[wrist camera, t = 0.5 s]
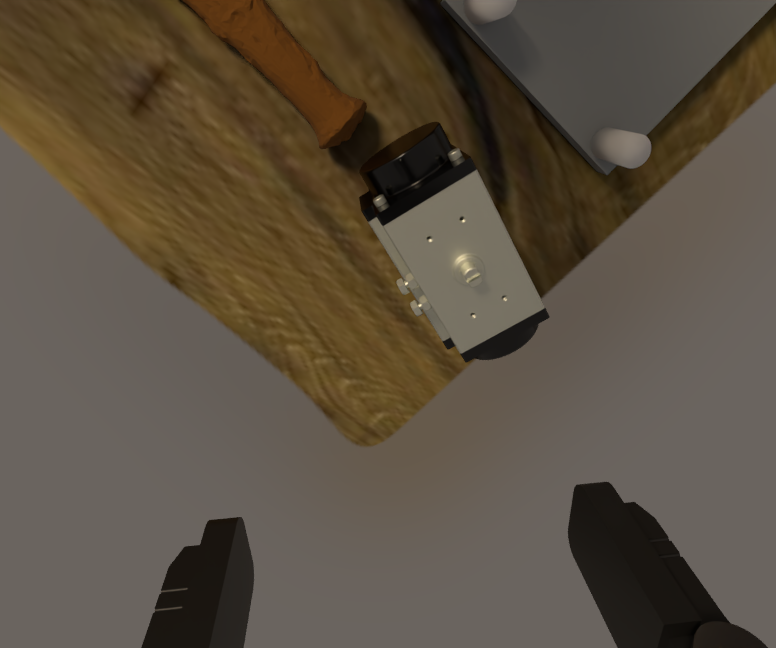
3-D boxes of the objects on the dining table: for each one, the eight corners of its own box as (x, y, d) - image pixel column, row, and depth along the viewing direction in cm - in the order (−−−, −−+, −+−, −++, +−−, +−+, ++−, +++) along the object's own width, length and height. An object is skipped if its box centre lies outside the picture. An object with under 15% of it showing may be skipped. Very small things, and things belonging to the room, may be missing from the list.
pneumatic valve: (418, 108, 31) (460, 127, 20) (500, 266, 36) (569, 349, 25) (339, 158, 32) (340, 202, 21) (430, 306, 37) (468, 403, 26)
